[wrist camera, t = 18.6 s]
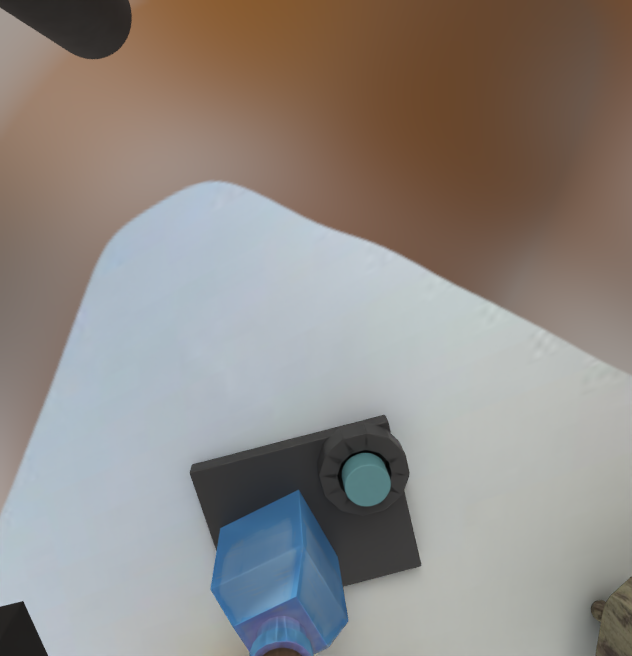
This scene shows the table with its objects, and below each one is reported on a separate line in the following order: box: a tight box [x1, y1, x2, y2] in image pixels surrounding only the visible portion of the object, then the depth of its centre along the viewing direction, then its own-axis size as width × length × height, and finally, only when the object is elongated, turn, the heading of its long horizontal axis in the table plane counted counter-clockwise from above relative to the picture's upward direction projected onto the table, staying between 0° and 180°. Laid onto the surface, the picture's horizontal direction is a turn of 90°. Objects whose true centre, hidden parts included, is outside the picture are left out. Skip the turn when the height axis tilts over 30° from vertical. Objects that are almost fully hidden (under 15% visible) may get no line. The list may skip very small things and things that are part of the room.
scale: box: [190, 415, 421, 586], centre depth 39 cm, size 12×14×3 cm
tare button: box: [342, 453, 391, 506], centre depth 37 cm, size 3×3×2 cm
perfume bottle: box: [211, 490, 348, 656], centre depth 34 cm, size 6×6×12 cm
